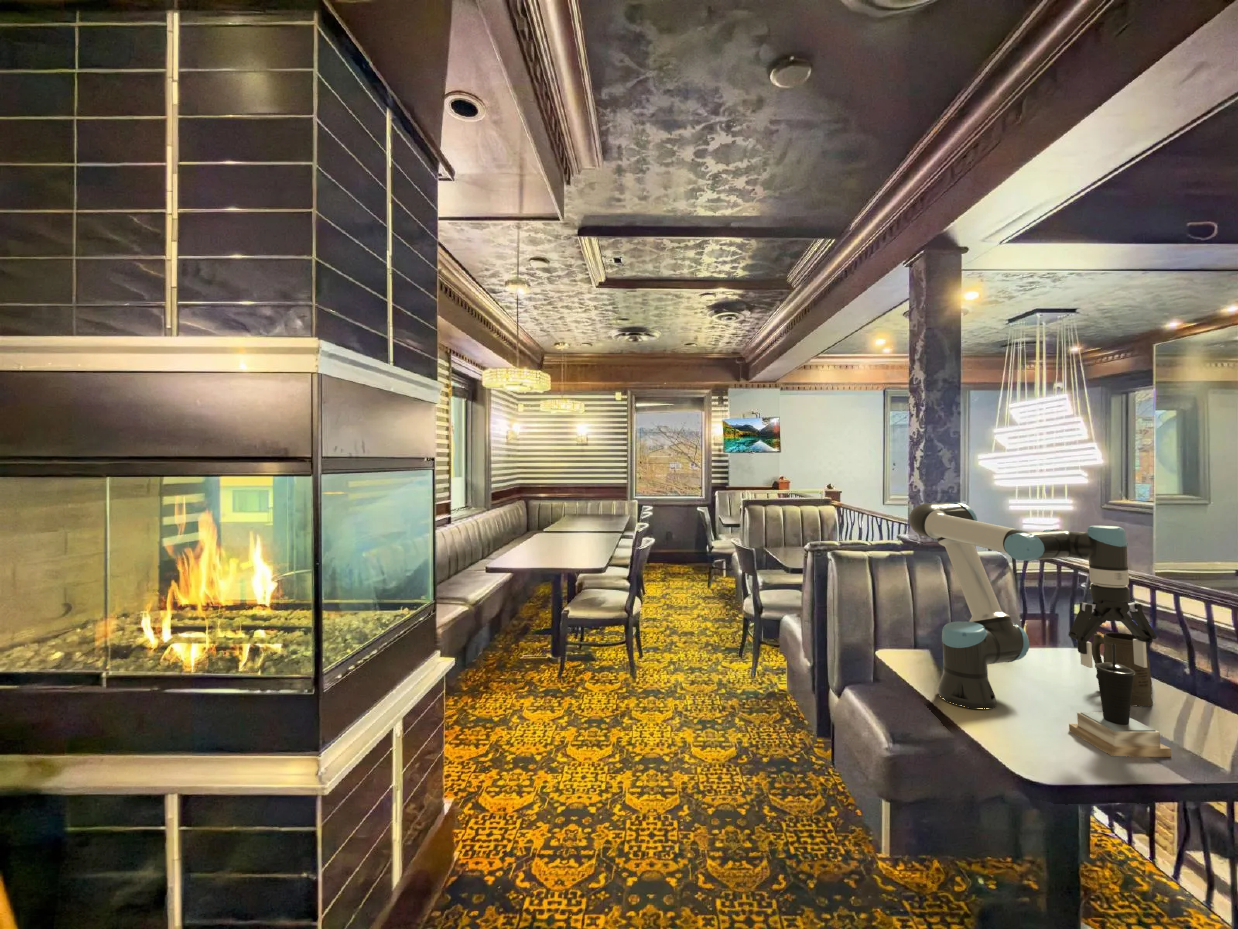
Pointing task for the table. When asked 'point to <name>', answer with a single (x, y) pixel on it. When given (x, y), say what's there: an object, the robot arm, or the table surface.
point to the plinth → (1120, 749)
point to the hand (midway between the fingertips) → (1113, 666)
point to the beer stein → (1125, 663)
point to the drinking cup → (1115, 690)
